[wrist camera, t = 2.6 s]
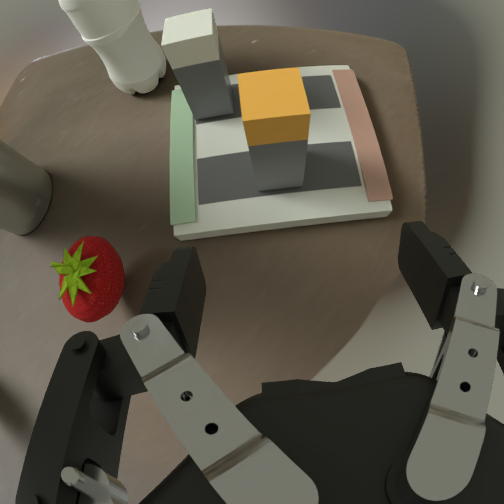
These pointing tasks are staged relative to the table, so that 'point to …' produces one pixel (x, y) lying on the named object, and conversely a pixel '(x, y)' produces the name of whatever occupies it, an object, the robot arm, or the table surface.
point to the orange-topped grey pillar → (275, 126)
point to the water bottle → (119, 41)
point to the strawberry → (90, 278)
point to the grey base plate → (237, 152)
